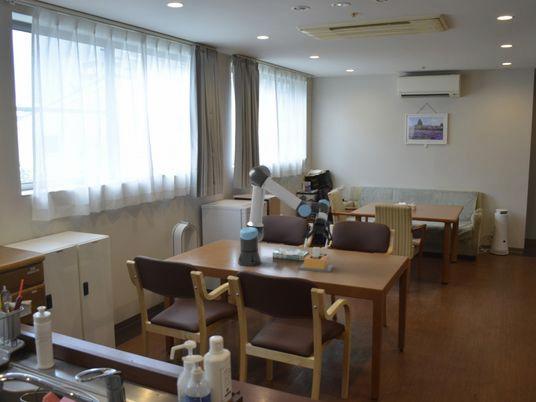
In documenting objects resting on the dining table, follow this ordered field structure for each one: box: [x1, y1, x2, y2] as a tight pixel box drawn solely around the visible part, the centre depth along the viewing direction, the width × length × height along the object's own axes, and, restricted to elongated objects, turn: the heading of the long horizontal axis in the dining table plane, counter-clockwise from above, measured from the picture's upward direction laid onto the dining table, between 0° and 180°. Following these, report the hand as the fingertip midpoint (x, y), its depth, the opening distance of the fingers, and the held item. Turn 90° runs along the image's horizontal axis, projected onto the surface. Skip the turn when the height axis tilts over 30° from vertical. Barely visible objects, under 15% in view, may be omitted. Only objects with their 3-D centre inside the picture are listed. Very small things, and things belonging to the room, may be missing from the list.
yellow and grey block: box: [297, 254, 335, 273], centre depth 320 cm, size 20×12×8 cm, turn 71°
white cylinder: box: [311, 246, 321, 259], centre depth 319 cm, size 4×4×12 cm
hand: (315, 248), depth 316 cm, fingers open, 13 cm apart
